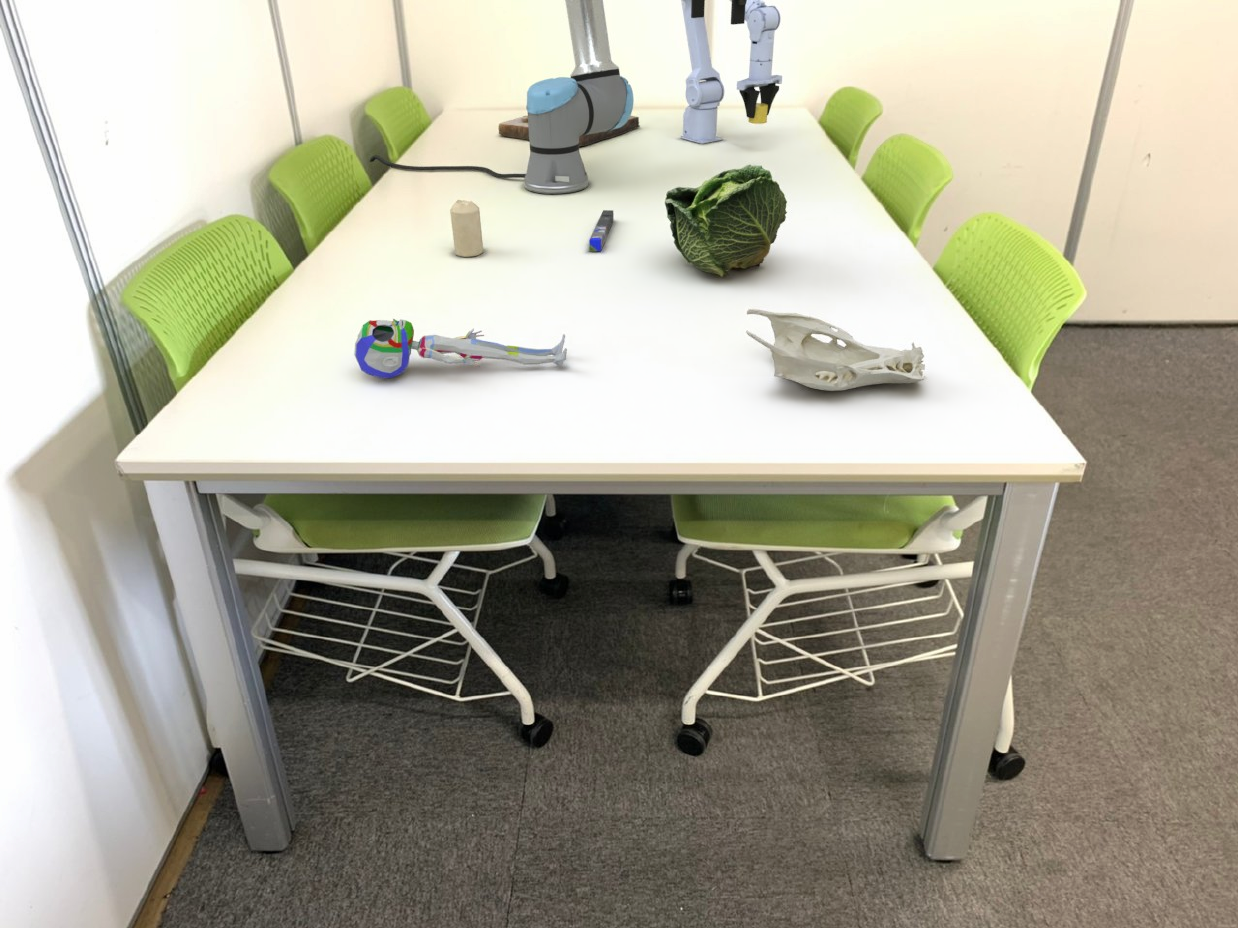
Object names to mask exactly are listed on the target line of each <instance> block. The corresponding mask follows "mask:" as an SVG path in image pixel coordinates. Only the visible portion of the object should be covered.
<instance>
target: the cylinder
mask: <svg viewBox="0 0 1238 928" xmlns="http://www.w3.org/2000/svg"><path fill="white" fill-rule="evenodd" d="M767 110H768V105H767V104H764V103H761V102H757V103H756V110H755V116H754V118H748V120H747V121H748V123H750V124H755V125H760V124H762V125H763V124H766V123H767V122H768V115H767Z"/></svg>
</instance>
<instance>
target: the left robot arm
mask: <svg viewBox="0 0 1238 928" xmlns="http://www.w3.org/2000/svg"><path fill="white" fill-rule="evenodd" d="M564 1H565V3H564V4H565V8H566V9H565V10H566V15H567V21H568V28H569V33H570V41H571V46H572V53H573V54H572V55H573V59H574V60H573V61H574V68H573V70H572V71H571V74H570V77H567V76H559V77H555V78H553V77H551V78H546V79H542V80H539V81H537V82H535V83H533V84H532V85H530V86H529V87H528V90H527V91H526V105H525V106H526V107H525V108H526V109H525V110H526V112H527V115H528V127H529V140H528V142H529V157H528V162H527V168H526V172H525V173H499V172H496V171H494V170H492V169H490V168H489V167H484V166H477V165H439V166H438V165H437V166H436V165H433V166H416V165H415V166H414V165H405V164H400V163H399V164H398V163H394V162H389V161H387V160H385V159H384V158H383V157H382V156H380V155H376V154H375V155H373V156H371V157H370V159H369V162H370V163H373V162H375V160H377V161H379V162H380V163H382V164H383V165H385V166H387V167H391V168H396V169H400V170H406V171H407V170H409V171H479V172H485V173H488V174H490V175H491V176H493V177H494V178H499V179H500V178H501V179H524V180H523V183H524V188H525V189H526V190H527V191H530V192H531V193H535V194H536V193H537V194H543V195H544V194H545V195H562V194H570V193H576V192H579V191H583V190H584V189H586V188H587V187H589V175H588V173H587V171H586V168H585V164H584V161H583V158H582V156H581V153H580V147H579V136H583V135H588V134H594V133H599V132H607V131H611V130H613V129H617V128H620V127H622V126H623V125H624V124H625V123H626V122H627V121H628V119H629V117H630V116H632V113H633V108H634V91H633V88H632V86H631V84H629V81H628V79H627V78H625V77H623V76H622V75H621V74H620V67H619V66H618V65H617V64H615V63H614V62H613V60H612V54H611V49H610V41H609V34H608V27H607V20H606V13H605V12H606V11H605V6H604V5H605V4H604V0H564ZM705 1H706V0H692V1H691V18H701V17H704V18H705V7H706V6H705V5H706V3H705ZM746 2H747V0H732V2H731V8H730V9H731V10H730V25H744V24H745V22H746V21H745V5H746Z"/></svg>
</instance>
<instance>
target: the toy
mask: <svg viewBox="0 0 1238 928" xmlns="http://www.w3.org/2000/svg"><path fill="white" fill-rule="evenodd" d="M474 331H475V328H472V329H471V330H469V331H468V332H467V333H466V334H465V335H463V336H458V337H449V336H448V337H447V336H442V335H439V334H428V335H423V336H421V338H420V339H419V341H417V340H414V336H415V329H414V326H413V324H412V322H410V321H408V320H407V319H399V320H397V319H395V318H392V320H387V319H379V320H368V321H367V322H365V323H364V324H362V326H361V329H360V331H359V333H358V334H357V338H356V340H355V342H354V354H353V355H354V357H355V359H356V362H357V364H358V366H359V369H360V370H361V372H364V373H366V374H367V375H370V376H373V377H377V378H382V379H383V378H384V379H392V378H394V377H396V376H398V375H400V374H401V375H402V374H403V372H404V371H405V370H406V368H407V367H408V366H409V364H410V357H411V355H412V350H415V351H417V353H418V356H419V357H421V358H422V359H430V360H434V361H438V362H442V363H444V364H449V365H458V364H459V365H461V364H465V365H471V366H477V367H479V368H480V367H481V366H482V365H483V363H482V362H478V361H480V360H482V359H487V360H488V359H489V360H503V361H509V362H514V363H517V364H520V365H528V366H529V365H542V364H550V363H553V364H555V365H557V366H559V367H562V366H563V364H564V362H565V361H566V360H567V357H568V355H567V353H568V348H566V347H565V348H564V345H565V340H566V334H565V333H563V334H562V338H561V340H560V341H559V343H558V344H556V345H555V346H554V347H552V348H533V347H532V348H531V347H523V346H518V345H517V346H516V345H504V344H501V343H498V342H494V341H488V340H482V339H478V338H479V337H480V338H481V337H485V334H480V333H482V332H483V331H482V330H479V331H476V332H474ZM563 349H564V350H563ZM453 353H455V354H457V355H459V357H458V356H455V355H448V354H453ZM445 354H447V355H445Z"/></svg>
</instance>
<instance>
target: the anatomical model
mask: <svg viewBox="0 0 1238 928" xmlns="http://www.w3.org/2000/svg"><path fill="white" fill-rule="evenodd" d="M746 314H747V315H757V316H758V315H759V316H762V317H765V318H767V319H768V320H769V321H770V326H771V329H772V332H773V335H774V343H773V344H771V343H769V342H768V341H766V340H764V339H762V338H761V337H760V336H757V335H756V334H755V333H753V332H751V331H749V330H746V332H745V334H746V335H748V337H750V338H751V339H753V340H755V341H756V342H758V343H759V344H761V345H763V347H766V348H768V349H769V351H770V352H771V358H772V362H773V366H774V372H773V376H774V377H777V378H781V379H787V380H790V381H793V382H796V383H798V384H800V385H802V386H805V387H807V388H810V389H815V390H820V391H827V392H834V391H847V390H850V389H855V388H860V387H864V386H865V387H866V386H871V385H880V384H914V383H918V382H921V381H924V380H927V377H926V376H924V375H923V373H924V371H925V369H926V364H924V363H923V362H924V360H923V359H924V358H925V354H924V351H923V348H922V346H917V347H916V345H915V342H911V347H912V348H911V349H904V350H899V349H896V348H891V347H881V346H872V345H866V344H863V343H861V342H859V341H857V340H855V339H854V337H853V335H851V334H850V333H848V331H846V330H844V329H843V328H840V327H838V326H836V325H833V324H831V323H829V322H826V321H824V320H823V319H822V320H821V319H819V318H816V317H812V316H808V315H804V314H801V313H796V312H774V311H768V310H763V309H756V308H750V309H749V308H748V310H747V311H746ZM835 329H836V330H837V331H835ZM812 335H823V336H826V337H829V338H830V339H831V340H830V341H829V342H824V341H822V340H820V339H818V338H816V337H814V336H812ZM838 340H839V341H841V342H843V343H844V344H845V346H843V345H841V344H839V343H838Z"/></svg>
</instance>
